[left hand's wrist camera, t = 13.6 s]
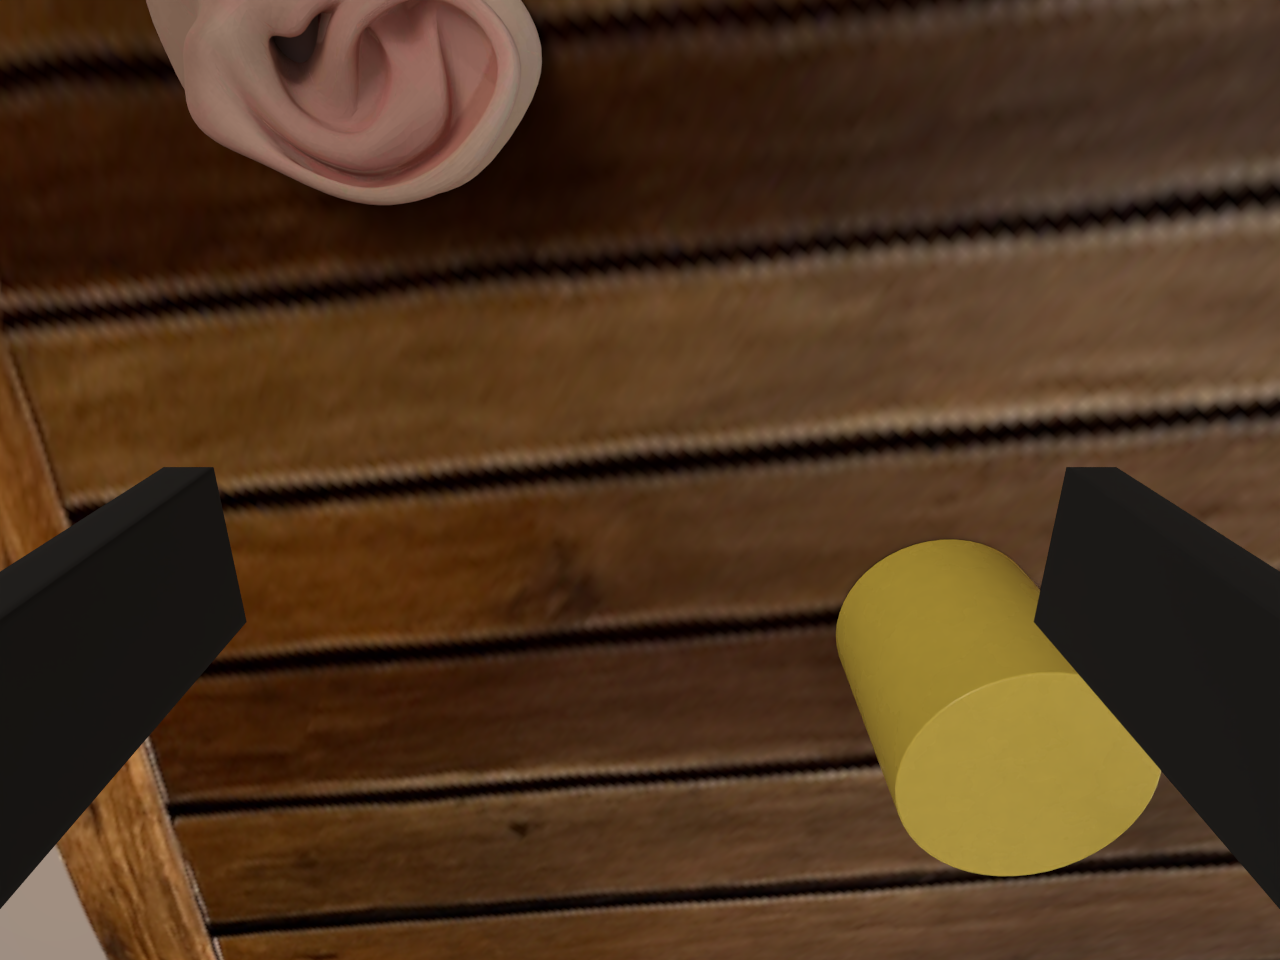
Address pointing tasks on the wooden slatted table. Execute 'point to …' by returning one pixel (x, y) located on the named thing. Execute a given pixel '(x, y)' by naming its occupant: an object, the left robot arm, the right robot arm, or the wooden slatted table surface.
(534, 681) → the wooden slatted table surface
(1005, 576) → the yellow cylinder
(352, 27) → the anatomical model
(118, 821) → the wooden slatted table surface
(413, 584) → the wooden slatted table surface
